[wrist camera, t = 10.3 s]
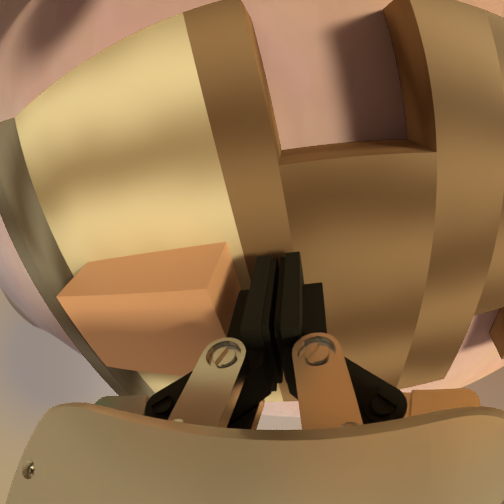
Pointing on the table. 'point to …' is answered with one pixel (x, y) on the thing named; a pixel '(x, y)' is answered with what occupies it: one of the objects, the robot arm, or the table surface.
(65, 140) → the platform
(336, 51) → the table surface
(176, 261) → the block
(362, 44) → the table surface
